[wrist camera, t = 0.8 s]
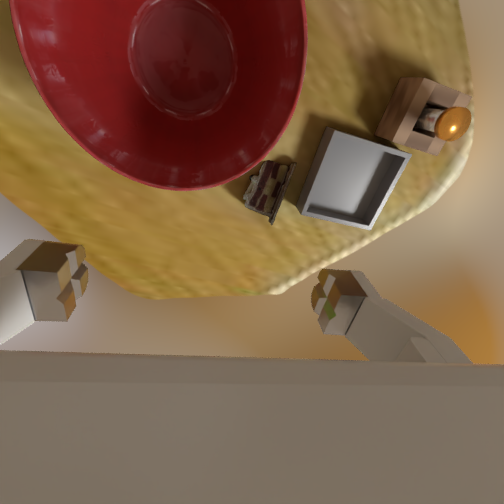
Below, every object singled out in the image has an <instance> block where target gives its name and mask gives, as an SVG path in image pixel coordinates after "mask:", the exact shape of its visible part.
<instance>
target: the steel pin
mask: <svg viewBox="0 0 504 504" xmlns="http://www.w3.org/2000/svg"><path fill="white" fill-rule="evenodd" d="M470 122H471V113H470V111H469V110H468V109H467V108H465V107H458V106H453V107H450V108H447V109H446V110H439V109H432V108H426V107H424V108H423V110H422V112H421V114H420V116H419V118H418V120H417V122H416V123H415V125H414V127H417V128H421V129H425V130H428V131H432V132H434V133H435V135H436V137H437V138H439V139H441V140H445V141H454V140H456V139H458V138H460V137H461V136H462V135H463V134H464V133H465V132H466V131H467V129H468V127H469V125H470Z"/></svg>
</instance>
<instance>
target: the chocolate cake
mask: <svg viewBox="0 0 504 504" xmlns="http://www.w3.org/2000/svg"><path fill="white" fill-rule="evenodd" d="M296 163H297V162H296ZM296 163H295V164H293V163H291V165H290V167H288V166H286V165H281V164H280V163H276V162H272V161H270V160H268V161H266V162H264V163H263V165H262V167H261V169H260V174H259V176H256V175H254V176H253V175H251V176H250V180H251V183H250V185H249V187H248V189H247V191H246V192H245V194H244V196H243V199H244V200H246V202H245V207H246V208H249V209H251V210H254V211H256V212H258V213H260V214H263V215H266V216H268V217H269V222H270V223H271V226H272V225H273V222H274V220H275V217H276V214H277V212H278V209H279V207H280V205H281V202H282V200H283V197H284V194H285V191H286V189H287V187H288V184H289V181H290V178H291V175H292V174H293V171H294V169H295V166H296Z"/></svg>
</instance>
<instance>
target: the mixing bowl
mask: <svg viewBox="0 0 504 504" xmlns="http://www.w3.org/2000/svg"><path fill="white" fill-rule="evenodd" d="M9 5H10V11H11V17H12V23H13V27H14V31H15V35H16V39H17V42H18V45H19V49H20V52H21V55H22V57H23V60H24V63H25V65H26V67H27V70H28V72H29V74H30V76H31V78H32V81H33V82H34V84H35V86H36V88H37V90H38V92H39V94H40V95H41V97H42V99H43V100H44V102H45V103H46V105H47V107H48V108H49V110H50V111H51V112H52V114H53V115H54V117H55V118H56V120H57V121H58V122H59V123H60V125H61V126H62V127H63V128H64V129H65V131H66V132H67V133H68V134H69V135H70V136H71V137H72V138H73V139H74V140H75V141H76V142H77V143H78V144H79V145H80V146H81V147H82V148H83V149H84V150H85V151H87V152H88V153H89V154H90V155H91V156H93V157H94V158H95V159H97V160H98V161H99V162H101V163H102V164H104V165H105V166H107V167H108V168H110V169H112V170H113V171H115V172H117V173H119V174H121V175H123V176H125V177H127V178H129V179H131V180H134V181H136V182H139V183H142V184H145V185H148V186H151V187H155V188H160V189H166V190H174V191H192V190H202V189H207V188H212V187H216V186H219V185H222V184H225V183H227V182H230V181H232V180H234V179H236V178H238V177H240V176H242V175H243V174H245V173H246V172H248V171H249V170H251V169H252V168H253V167H254V166H256V165H257V164H258V163H259V162H260V161H261V160H263V159H264V158H265V157H266V155H267V154H268V153H269V152H270V151H271V150H272V149H273V147H274V146H275V145H276V143H277V142H278V141H279V139H280V138H281V136H282V135H283V133H284V131H285V130H286V128H287V126H288V124H289V122H290V120H291V118H292V116H293V113H294V111H295V108H296V105H297V102H298V100H299V96H300V93H301V89H302V85H303V80H304V75H305V68H306V59H307V42H308V35H307V16H306V8H305V1H304V0H9Z"/></svg>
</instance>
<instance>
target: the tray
mask: <svg viewBox="0 0 504 504" xmlns="http://www.w3.org/2000/svg"><path fill="white" fill-rule="evenodd" d="M411 156H412V154H409V153H407V152H404V151H402V150H399V149H396V148H393V147H390V146H387V145H384V144H381V143H377V142H374V141H371V140H368V139H365V138H362V137H358V136H355V135H352V134H349V133H346V132H343V131H339V130H336V129H333V128H330V127H327V126H326V129H325V131H324V134H323V136H322V139H321V142H320V144H319V147H318V149H317V152H316V155H315V157H314V160H313V162H312V165H311V168H310V170H309V173H308V176H307V178H306V181H305V183H304V186H303V189H302V191H301V194H300V196H299V199H298V202H297V204H296V207H297V209H298V211H299V212H300V214H301V215H305V216H309V217H313V218H318V219H322V220H327V221H331V222H336V223H340V224H344V225H349V226H353V227H358V228H362V229H367V230H371V228H372V227H373V225H374V223H375V221H376V219H377V218H378V216H379V214H380V212H381V210H382V208H383V207H384V205H385V203H386V201H387V199H388V197H389V196H390V194H391V192H392V190H393V188H394V187H395V185H396V183H397V181H398V179H399V177H400V176H401V174H402V172H403V170H404V168H405V166H406V165H407V163H408V161H409V159H410V157H411Z"/></svg>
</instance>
